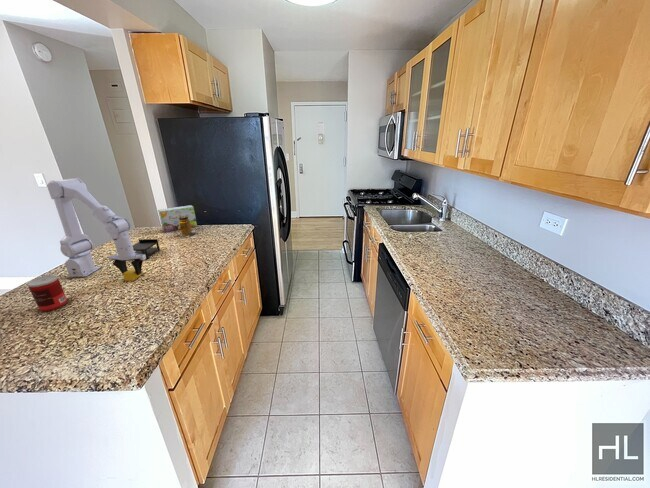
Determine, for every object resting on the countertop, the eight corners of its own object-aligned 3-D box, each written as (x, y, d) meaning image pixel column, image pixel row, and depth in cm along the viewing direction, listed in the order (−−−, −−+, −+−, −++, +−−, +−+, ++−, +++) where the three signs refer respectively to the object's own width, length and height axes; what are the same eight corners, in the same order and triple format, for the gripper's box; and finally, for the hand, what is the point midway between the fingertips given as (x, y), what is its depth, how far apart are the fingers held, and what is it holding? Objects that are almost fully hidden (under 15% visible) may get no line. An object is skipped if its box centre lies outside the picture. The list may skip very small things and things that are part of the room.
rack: (148, 259, 136) (144, 247, 133) (128, 259, 135) (124, 247, 133) (160, 250, 147) (157, 239, 145) (142, 250, 147) (139, 239, 144)
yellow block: (134, 280, 115) (131, 273, 114) (124, 280, 115) (122, 273, 113) (142, 274, 120) (140, 267, 119) (133, 274, 120) (131, 267, 119)
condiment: (179, 235, 170) (175, 218, 165) (189, 231, 177) (185, 214, 173) (187, 237, 168) (183, 219, 163) (197, 232, 175) (194, 215, 170)
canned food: (66, 297, 102) (55, 272, 98) (69, 304, 98) (58, 279, 94) (38, 306, 97) (25, 280, 93) (41, 314, 92) (28, 287, 88)
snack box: (164, 232, 175) (159, 211, 170) (162, 230, 179) (157, 209, 174) (197, 226, 189) (193, 206, 183) (194, 224, 192) (191, 204, 187)
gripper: (146, 242, 116) (154, 269, 121) (113, 243, 115) (122, 270, 120) (136, 248, 110) (145, 277, 115) (101, 249, 109) (111, 277, 114)
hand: (132, 274), depth 117 cm, fingers open, 5 cm apart
